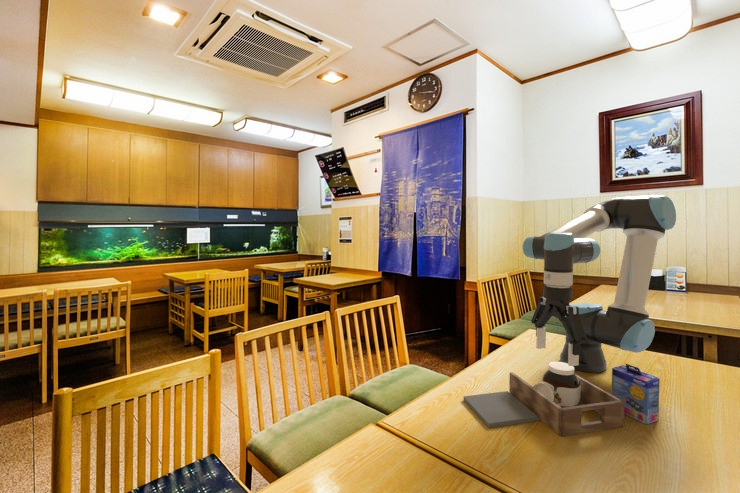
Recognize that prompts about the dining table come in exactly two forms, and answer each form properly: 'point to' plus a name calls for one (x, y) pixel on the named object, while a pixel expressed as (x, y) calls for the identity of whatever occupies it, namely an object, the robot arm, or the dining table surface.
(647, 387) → the ink cartridge box
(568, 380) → the spread jar
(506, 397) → the slate board
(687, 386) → the dining table surface
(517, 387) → the wooden tray frame
